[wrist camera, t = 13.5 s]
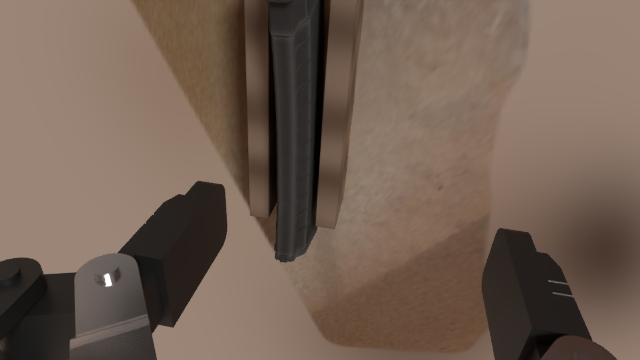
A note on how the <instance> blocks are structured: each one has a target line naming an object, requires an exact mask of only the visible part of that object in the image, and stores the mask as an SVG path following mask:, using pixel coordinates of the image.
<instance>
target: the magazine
mask: <svg viewBox="0 0 640 360" xmlns="http://www.w3.org/2000/svg"><path fill="white" fill-rule="evenodd" d="M266 1H267V3H268V11H269V30H270V33H271V46H272V53H273V71H274V89H275V110H276V130H277V139H276V145H277V221H276V243H275V247H274V250H275V252H276V253H275V259H276V260H280V262H286V263H287V261H289V262H292V261H294V260H295V258H296V257H298V256H300V255H303V254H304V253H306V251H307V249H308V247H309V245H310V243H311V241H312V239H313V237H314V235H315V233H316V231H317V226H316V212H317V197H318V182H319V167H320V152H321V134H322V109H323V77H324V0H266Z"/></svg>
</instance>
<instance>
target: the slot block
mask: <svg viewBox="0 0 640 360" xmlns="http://www.w3.org/2000/svg"><path fill="white" fill-rule="evenodd" d="M363 8H364V0H324V77H323V109H322V134H321V152H320V167H319V182H318V197H317V212H316V226H318V227H324V228H331V229H335V226H336V222H337V219H338V215H339V211H340V207H341V203H342V200H343V196H344V190H345V180H346V171H347V161H348V152H349V142H350V132H351V123H352V113H353V104H354V94H355V85H356V75H357V65H358V56H359V46H360V37H361V27H362V18H363ZM244 10H245V46H246V83H247V119H248V156H249V192H250V215H251V216H256V217H263V218H269V217H270V215H271V213H272V211H273V209H274V207H275V205H276V203H277V145H276V139H277V130H276V110H275V89H274V71H273V53H272V46H271V33H270V30H269V11H268V3H267V1H266V0H244Z"/></svg>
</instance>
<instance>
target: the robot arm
mask: <svg viewBox="0 0 640 360" xmlns="http://www.w3.org/2000/svg"><path fill="white" fill-rule="evenodd" d="M226 234H227V214H226V199H225V188H224V186H223V185H222V184H215V183H209V182H202V181H197V182H196V183H195V184H194V185H193V186H192V188H191V189H190V190H189V191H188V192H187V193H186V195H180V194H178V195H177V196H175V197H173V198H171V199H169V200H167V201H166V202H164V203H163V204H162V205H161V206H160V207H159V208H158V209H157V211H156V212H155V213H154V215H152V216H151V217H150V218H149V219H148V220H147V222H146V224H144V225H143V226H142V227H141V228H140V229H139V230H138V231H137V232H136V233H135V234H134V235H133V237H132V238H131V239H130V240H129V241H128V242H127V243H126V244H125V245H124V246H123V247H122V248H121V250H120V251H119V252H118V253H113V254H106V255H102V256H99V257H96V258H94V259H92V260H90V261H88V262H87V263H85V264H84V265H83V266H81V268H80V269H79V270H78V271H77V272H75V273H62V274H61V273H60V274H43V271H42V268H41V265H40V264H39V263H38V262H37V261H36V260H34V259H30V258H13V259H8V260H5V261H1V262H0V360H157V358H156V353H155V348H154V343H153V338H152V333H153V332H154V330H155V329H156V327H157V326H158V325H163V326H168V327H174V325H175V324H176V322H177V321H178V319H179V317H180V316H181V314H182V312H183V311H184V309H185V307H186V305H187V304H188V302H189V301H190V299H191V297H192V296H193V294H194V292H195V291H196V289H197V287H198V286H199V284H200V283H201V281H202V279H203V278H204V276H205V274H206V273H207V271H208V269H209V268H210V266H211V264H212V263H213V261H214V260H215V258H216V256H217V255H218V253H219V251H220V250H221V248H222V246H223V244H224V242H225V238H226ZM482 293H483V299H484V304H485V309H486V315H487V320H488V325H489V331H490V336H491V341H492V346H493V352H494V357H495V360H617V359H616V357H614V355H612V354H611V353H610V352H609V351H608V350H606V349H605V348H604V347H602V346H601V345H599V344H597V343H596V342H594V341H592V338H591V336H590V334H589V331H588V329H587V327H586V325H585V322H584V320H583V318H582V315H581V313H580V311H579V309H578V306H577V304H576V302H575V299H574V298H572V292H571V290H570V288H569V286H568V285H567V281H566V279H565V276H564V274H563V272H562V269H561V268H560V266H559V265H558V264H557V263H556V262H555V261H554V260H553V259H552V258H551V257H550V256H549V255H548V254H546V253H540V252H537V251H536V248H535V246H534V243H533V240H532V238H531V235H530V234H529V233H528V232H522V231H516V230H510V229H503V228H500V229H498V231H497V233H496V236H495V238H494V241H493V244H492V247H491V250H490V253H489V256H488V259H487V262H486V265H485V268H484V272H483V277H482Z"/></svg>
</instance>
